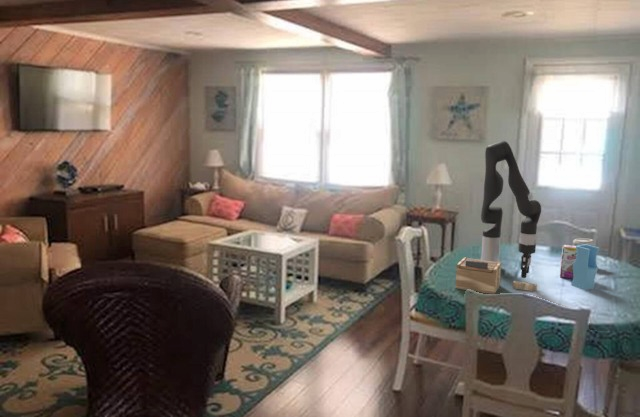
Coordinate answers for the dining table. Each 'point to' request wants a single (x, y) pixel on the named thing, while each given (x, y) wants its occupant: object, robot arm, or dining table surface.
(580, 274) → the light-blue file holder
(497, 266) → the toolbox
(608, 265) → the dining table surface
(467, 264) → the toolbox lid
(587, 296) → the dining table surface
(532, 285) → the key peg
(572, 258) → the candy bar box
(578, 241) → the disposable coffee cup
